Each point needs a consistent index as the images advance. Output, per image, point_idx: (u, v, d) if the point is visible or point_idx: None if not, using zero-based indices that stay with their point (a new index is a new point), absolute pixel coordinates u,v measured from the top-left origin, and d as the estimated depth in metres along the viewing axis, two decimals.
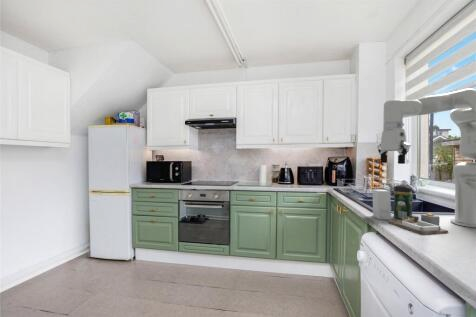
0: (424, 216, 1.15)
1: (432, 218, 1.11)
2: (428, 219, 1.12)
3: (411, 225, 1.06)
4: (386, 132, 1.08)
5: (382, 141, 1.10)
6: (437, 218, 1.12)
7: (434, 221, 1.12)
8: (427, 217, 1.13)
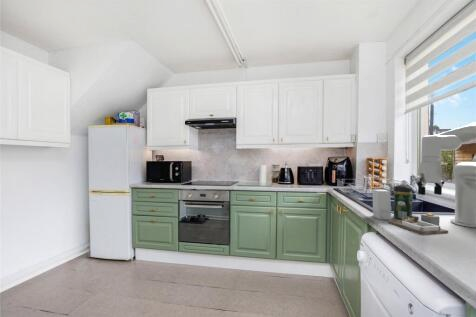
0: (424, 216, 1.15)
1: (432, 218, 1.11)
2: (428, 219, 1.12)
3: (411, 225, 1.06)
4: (434, 165, 1.11)
5: (429, 173, 1.11)
6: (437, 218, 1.12)
7: (434, 221, 1.12)
8: (427, 217, 1.13)
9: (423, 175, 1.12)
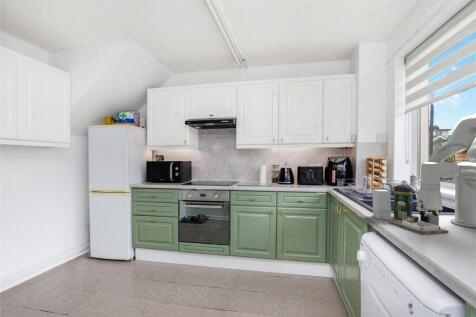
0: None
1: (431, 218, 1.11)
2: None
3: (411, 225, 1.06)
4: (433, 193, 1.11)
5: (428, 201, 1.11)
6: (436, 218, 1.12)
7: (433, 221, 1.12)
8: None
9: (422, 202, 1.12)
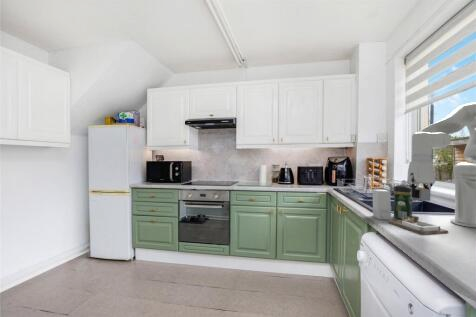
0: None
1: (423, 191, 1.04)
2: None
3: (411, 225, 1.06)
4: (425, 164, 1.04)
5: (419, 173, 1.04)
6: (428, 191, 1.05)
7: (425, 194, 1.05)
8: None
9: (413, 175, 1.05)
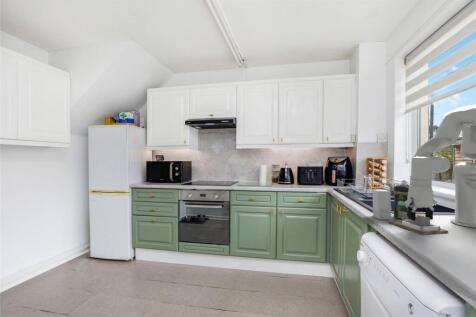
0: None
1: (422, 220, 1.05)
2: (418, 221, 1.06)
3: (411, 225, 1.06)
4: (424, 189, 1.04)
5: (419, 198, 1.04)
6: (428, 220, 1.05)
7: (424, 223, 1.05)
8: (417, 219, 1.06)
9: (413, 199, 1.05)
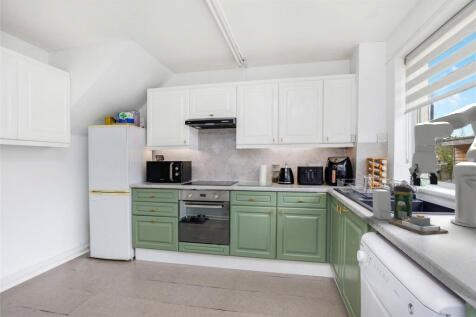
0: (414, 217, 1.08)
1: (422, 220, 1.05)
2: (418, 221, 1.06)
3: (411, 225, 1.06)
4: (428, 154, 1.06)
5: (423, 163, 1.06)
6: (428, 220, 1.05)
7: (424, 223, 1.05)
8: (417, 219, 1.06)
9: (417, 165, 1.07)
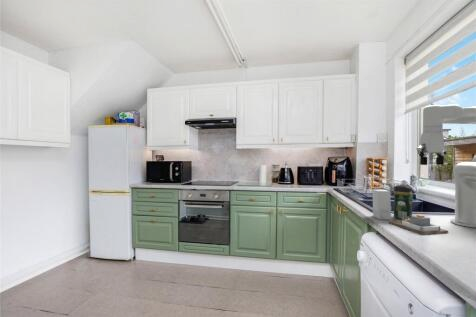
0: (414, 217, 1.08)
1: (422, 220, 1.05)
2: (418, 221, 1.06)
3: (411, 225, 1.06)
4: (436, 135, 1.11)
5: (430, 143, 1.11)
6: (428, 220, 1.05)
7: (424, 223, 1.05)
8: (417, 219, 1.06)
9: (425, 145, 1.12)
